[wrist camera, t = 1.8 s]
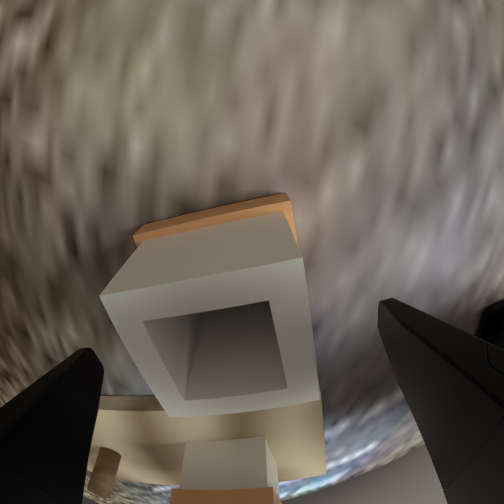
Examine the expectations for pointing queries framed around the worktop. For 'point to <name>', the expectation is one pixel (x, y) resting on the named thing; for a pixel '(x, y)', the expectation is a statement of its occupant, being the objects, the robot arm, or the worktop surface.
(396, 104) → the worktop surface
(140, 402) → the pin board
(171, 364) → the sleeve
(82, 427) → the robot arm
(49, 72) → the worktop surface
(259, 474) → the seated sleeve
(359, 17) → the worktop surface
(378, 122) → the worktop surface
